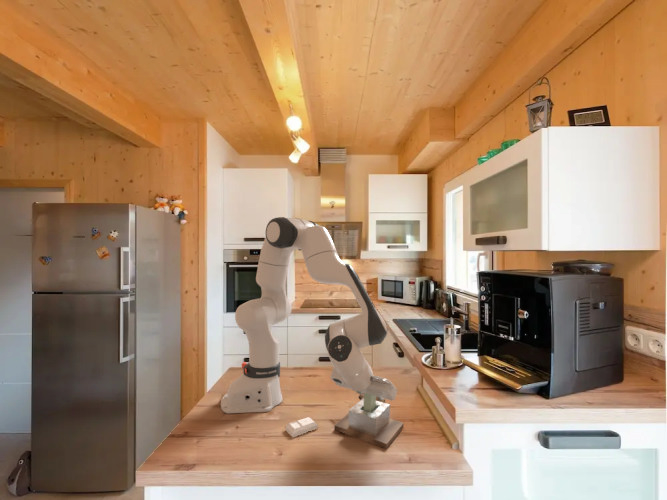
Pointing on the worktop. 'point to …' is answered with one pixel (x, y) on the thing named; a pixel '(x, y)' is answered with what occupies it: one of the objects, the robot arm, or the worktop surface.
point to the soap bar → (301, 426)
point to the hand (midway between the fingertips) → (370, 394)
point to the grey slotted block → (369, 418)
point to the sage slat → (369, 403)
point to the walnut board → (381, 439)
